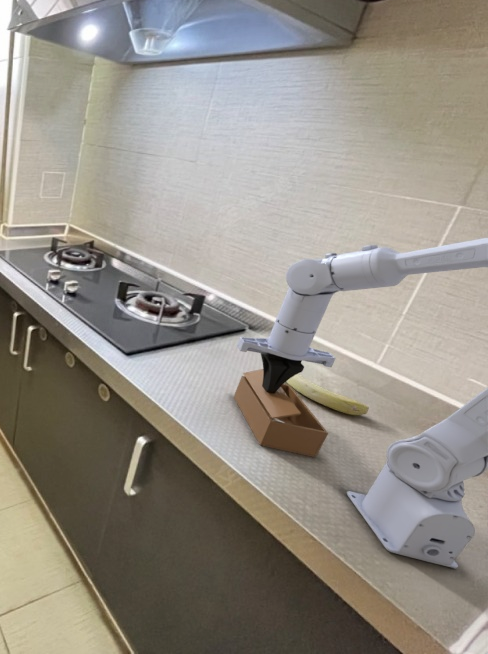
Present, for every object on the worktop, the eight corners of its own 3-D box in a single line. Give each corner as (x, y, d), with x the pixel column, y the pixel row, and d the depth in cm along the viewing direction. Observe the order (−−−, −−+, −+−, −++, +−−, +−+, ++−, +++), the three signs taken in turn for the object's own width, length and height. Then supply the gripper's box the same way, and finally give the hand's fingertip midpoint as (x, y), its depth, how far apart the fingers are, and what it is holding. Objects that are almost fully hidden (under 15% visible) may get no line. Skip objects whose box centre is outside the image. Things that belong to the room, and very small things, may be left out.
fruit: (345, 424, 76) (353, 410, 75) (270, 378, 89) (275, 366, 88) (366, 417, 79) (373, 404, 78) (289, 374, 92) (295, 362, 91)
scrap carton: (315, 457, 67) (328, 433, 65) (260, 445, 69) (270, 421, 67) (279, 406, 80) (289, 384, 78) (233, 397, 82) (241, 375, 80)
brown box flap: (301, 414, 65) (300, 413, 65) (272, 419, 67) (272, 417, 67) (266, 369, 78) (266, 368, 78) (243, 374, 79) (243, 372, 79)
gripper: (329, 322, 70) (301, 385, 75) (241, 308, 72) (219, 369, 77) (354, 341, 63) (321, 409, 68) (256, 325, 66) (231, 391, 71)
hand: (268, 389), depth 72 cm, fingers closed
